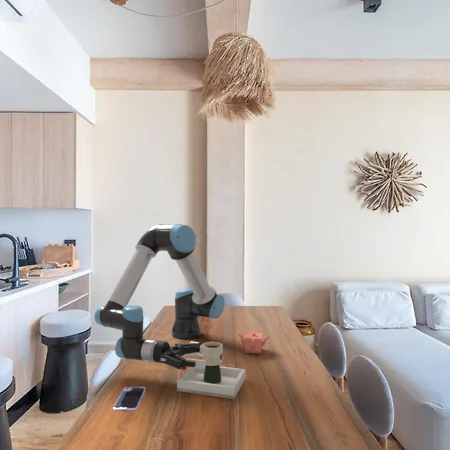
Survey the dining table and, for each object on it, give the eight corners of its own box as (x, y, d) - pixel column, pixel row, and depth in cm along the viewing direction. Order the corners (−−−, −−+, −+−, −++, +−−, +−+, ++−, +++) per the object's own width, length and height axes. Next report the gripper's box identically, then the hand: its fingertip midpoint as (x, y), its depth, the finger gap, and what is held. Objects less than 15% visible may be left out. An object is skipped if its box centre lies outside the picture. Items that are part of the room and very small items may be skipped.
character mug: (224, 387, 123) (225, 349, 122) (203, 389, 121) (204, 350, 121) (220, 374, 133) (220, 339, 133) (200, 375, 132) (201, 340, 132)
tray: (194, 372, 138) (194, 363, 138) (245, 378, 132) (245, 369, 132) (177, 390, 122) (177, 380, 122) (234, 399, 117) (234, 388, 117)
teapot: (270, 357, 154) (270, 337, 154) (235, 355, 156) (235, 336, 156) (270, 347, 166) (271, 329, 166) (238, 346, 168) (238, 328, 168)
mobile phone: (111, 408, 109) (124, 386, 124) (111, 411, 109) (124, 389, 124) (136, 408, 109) (146, 386, 124) (136, 411, 109) (146, 388, 124)
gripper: (170, 350, 145) (221, 355, 139) (139, 375, 121) (199, 383, 115) (170, 331, 145) (221, 336, 139) (139, 352, 121) (199, 359, 115)
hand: (211, 357), depth 127 cm, fingers open, 13 cm apart
